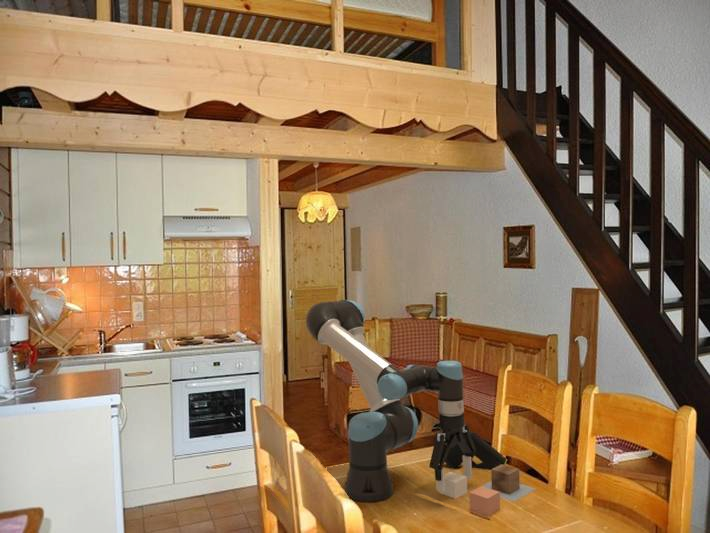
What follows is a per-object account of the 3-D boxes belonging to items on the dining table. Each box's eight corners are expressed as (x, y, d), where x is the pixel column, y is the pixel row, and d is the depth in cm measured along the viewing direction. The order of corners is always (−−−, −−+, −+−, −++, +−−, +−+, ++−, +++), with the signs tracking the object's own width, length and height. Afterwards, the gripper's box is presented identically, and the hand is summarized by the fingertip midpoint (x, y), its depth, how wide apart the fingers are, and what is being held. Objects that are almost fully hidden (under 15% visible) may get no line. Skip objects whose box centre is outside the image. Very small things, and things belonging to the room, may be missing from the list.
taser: (441, 455, 194) (465, 423, 190) (483, 490, 188) (508, 458, 185) (438, 459, 190) (463, 426, 186) (480, 495, 184) (507, 462, 181)
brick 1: (469, 513, 154) (469, 492, 154) (481, 506, 158) (481, 486, 158) (488, 520, 150) (487, 498, 150) (500, 513, 154) (499, 491, 154)
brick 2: (491, 489, 168) (491, 469, 168) (502, 483, 172) (501, 464, 172) (509, 494, 163) (508, 474, 163) (519, 488, 167) (519, 468, 167)
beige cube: (439, 497, 166) (438, 477, 166) (451, 491, 170) (450, 471, 170) (455, 503, 161) (455, 482, 161) (467, 496, 166) (466, 476, 166)
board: (475, 493, 168) (475, 489, 168) (498, 480, 177) (498, 477, 177) (513, 506, 158) (513, 501, 158) (536, 492, 167) (536, 488, 167)
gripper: (435, 424, 154) (439, 500, 154) (485, 406, 172) (488, 475, 171) (415, 419, 160) (418, 493, 159) (465, 403, 177) (468, 469, 177)
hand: (454, 484), depth 165 cm, fingers open, 13 cm apart
